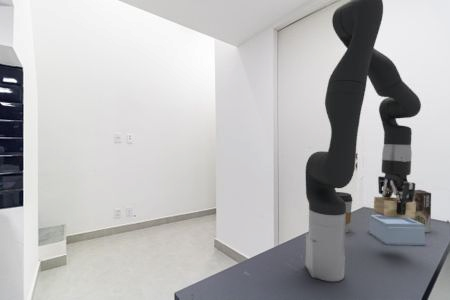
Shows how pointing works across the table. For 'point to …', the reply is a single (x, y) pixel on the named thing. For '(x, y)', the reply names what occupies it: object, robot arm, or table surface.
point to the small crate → (393, 207)
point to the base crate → (397, 230)
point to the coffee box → (422, 208)
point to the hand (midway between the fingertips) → (393, 211)
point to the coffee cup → (347, 208)
